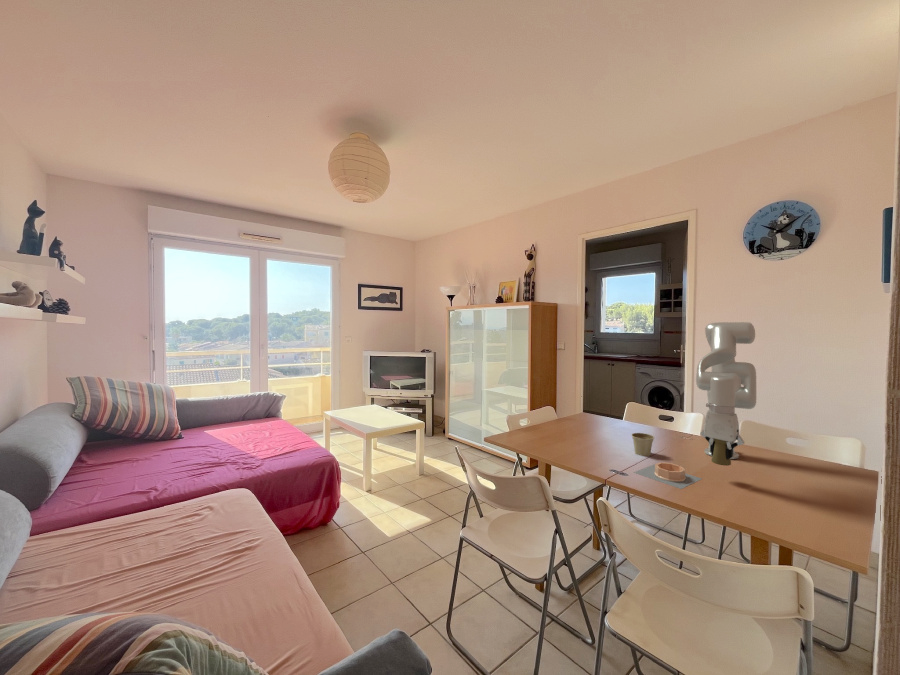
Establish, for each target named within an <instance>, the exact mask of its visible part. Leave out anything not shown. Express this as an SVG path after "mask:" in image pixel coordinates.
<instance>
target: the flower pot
mask: <svg viewBox="0 0 900 675" xmlns="http://www.w3.org/2000/svg"><path fill="white" fill-rule="evenodd" d="M630 436H631V437H632V440H633V446H634V447H633V448H634V455H638V456H641V457H649V456H651V453H652V452H651V451H652V447H653V442H654V439H655V436H654V435H652V434H649V433H644V432H635V433H631V435H630Z"/></svg>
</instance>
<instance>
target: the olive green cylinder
mask: <svg viewBox="0 0 900 675" xmlns="http://www.w3.org/2000/svg"><path fill="white" fill-rule="evenodd" d="M713 439H714V438H713ZM714 441H715V444H714V451H713V456H711V460H710V461H711V462H712V463H713V464H715V465H719V466H726V467H727V466H731V465H732V459H730V458H729V459H728V460H727V459H726V449H727V441H722V440H719V439H714Z"/></svg>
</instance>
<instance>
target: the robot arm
mask: <svg viewBox="0 0 900 675" xmlns="http://www.w3.org/2000/svg"><path fill="white" fill-rule="evenodd" d="M704 331H705V332H704V333H705V338H706V341H707V343H708V346H709V347H710V351H709V352H708V353H706V355H704V356H703V357H702V358H701V359H700V361H699V362H698V364H697V367H696V374H695V375H696V376H695V382H696V386H697V388H698V389H699V390H701V391H706V394H707V401H708V403H706V404H705V407H707V408H708V410H707V411H706V414H705V420H704V427H703V428H704V429H703V430H702V431H701V432H700V435H701V436H702V437H703V438H704V439H705V440H706V441H707V442H708V447H706V448H704V453H705V454H706V455H708V456H710V457H712V456H713V451H714V444H715V441H714V439H719V440H722V441H727V449H726V459H727V460H728V459H729V458H730V459H731V460H736V459H737V460H738V459H739V457H740V454H739V453H738V452H737V451H735V448H737V447H738V446H741V445H744V444H745V441H744V439H743V438H742V436H741V435H740V424H739V419H738V415H737V413H736V412H735V411H736V409H745V410H751V409H754V408H755V407H756V405H757V370H756V368H755V365H754V364H752V363H750V362H744V361H742V362H741V361H736V360H735V358H736V356H737V345H738V344H739V345H740V344H743V345H745V344H746V345H747V344H749V345H750V344H752V343H754V341H755V339H756V328H755V326H754V325H753V323H751V322H748V321H747V322H744V321H743V322H742V321H741V322H739V321H738V322H737V321H735V322H734V321H733V322H728V321H727V322H720V321H719V322H712V323H711V322H710V323H708V324H706V326H705V328H704ZM709 368H711V371H706V370H708V369H709ZM713 438H714V439H713Z"/></svg>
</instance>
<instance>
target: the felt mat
mask: <svg viewBox="0 0 900 675" xmlns="http://www.w3.org/2000/svg"><path fill="white" fill-rule="evenodd" d="M655 464H656V463H655ZM655 464H652V465H649V466H647V467H643V468H641V469H638V470H636V471H633V474H636V475H640V476H642V477H645V478H648V479H651V480H653V481H656V482H660V483H662V484H665V485H667V486H668V485H669V486H671V487H674V488H677V489H680V490H682V489H684V488H686V487H689V486H690V485H693V484H694V483H696V482H699V481H701V480H703V477H698V476H694V475H691V474H689V473H686V472H685V478H686V479H685V481H683V482H671V481H666V480H663V479H660V478H658V477H656V476H655Z"/></svg>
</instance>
